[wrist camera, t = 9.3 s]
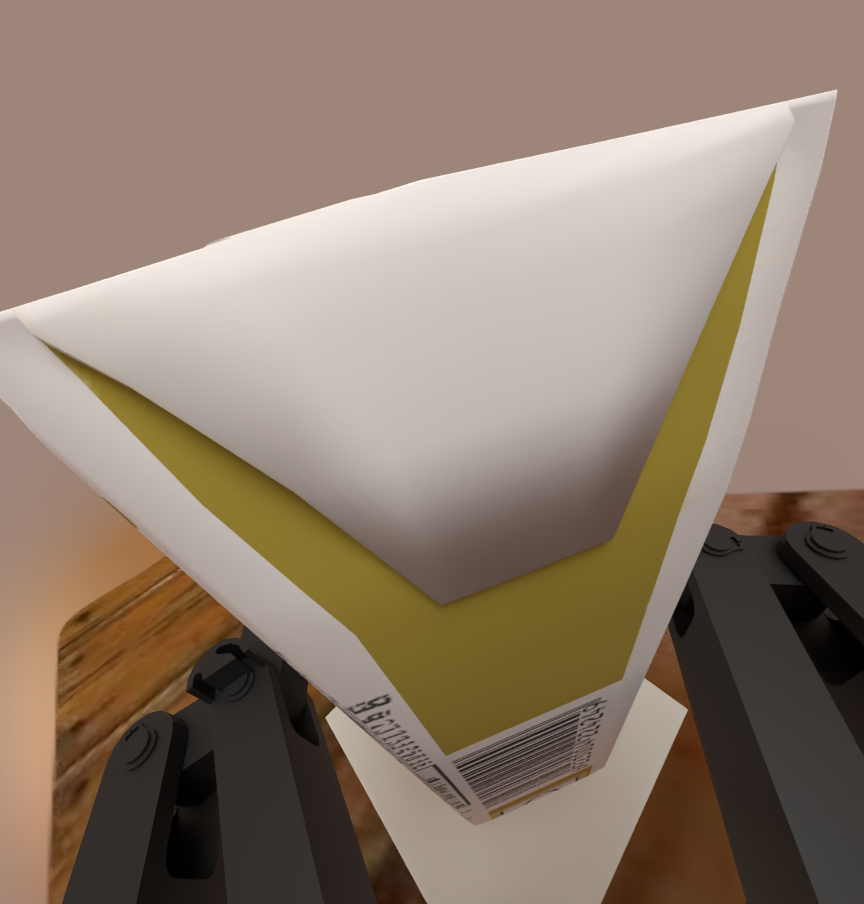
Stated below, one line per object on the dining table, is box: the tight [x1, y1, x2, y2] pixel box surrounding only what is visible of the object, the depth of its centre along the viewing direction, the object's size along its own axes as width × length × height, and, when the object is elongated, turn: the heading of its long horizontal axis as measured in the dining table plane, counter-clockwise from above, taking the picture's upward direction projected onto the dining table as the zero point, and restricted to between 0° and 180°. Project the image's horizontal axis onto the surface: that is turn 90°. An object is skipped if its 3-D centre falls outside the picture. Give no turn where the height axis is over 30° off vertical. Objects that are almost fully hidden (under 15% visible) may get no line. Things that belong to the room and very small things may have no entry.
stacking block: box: [326, 678, 688, 904], centre depth 24 cm, size 16×16×6 cm
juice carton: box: [0, 90, 837, 826], centre depth 11 cm, size 8×9×19 cm
